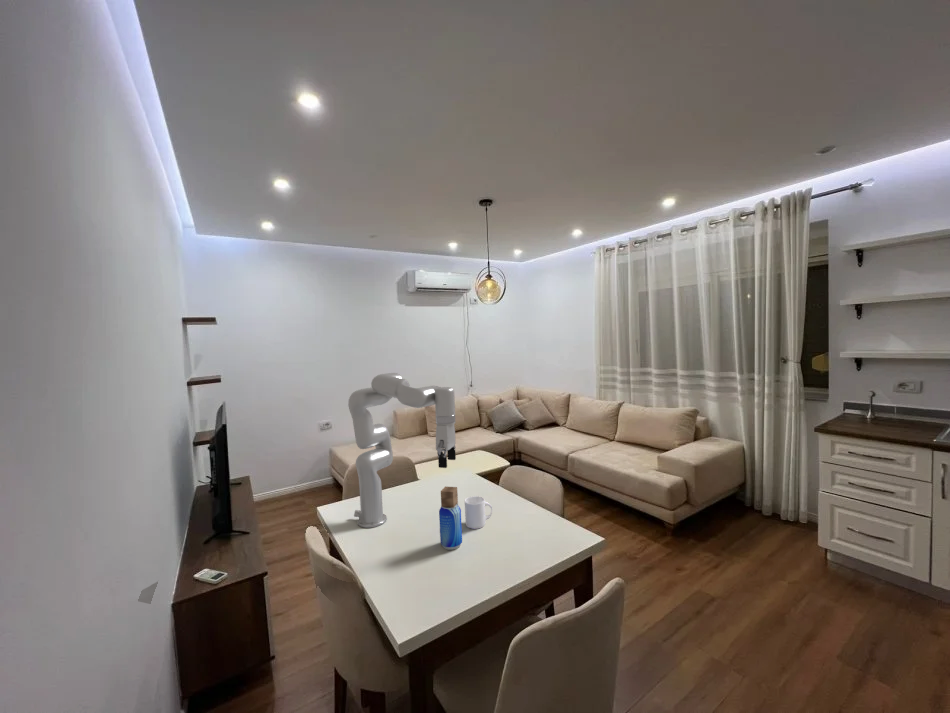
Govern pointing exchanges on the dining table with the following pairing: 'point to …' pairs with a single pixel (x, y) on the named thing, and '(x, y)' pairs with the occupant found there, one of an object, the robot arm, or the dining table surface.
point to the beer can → (450, 527)
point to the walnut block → (449, 497)
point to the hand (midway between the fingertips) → (447, 463)
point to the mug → (476, 512)
